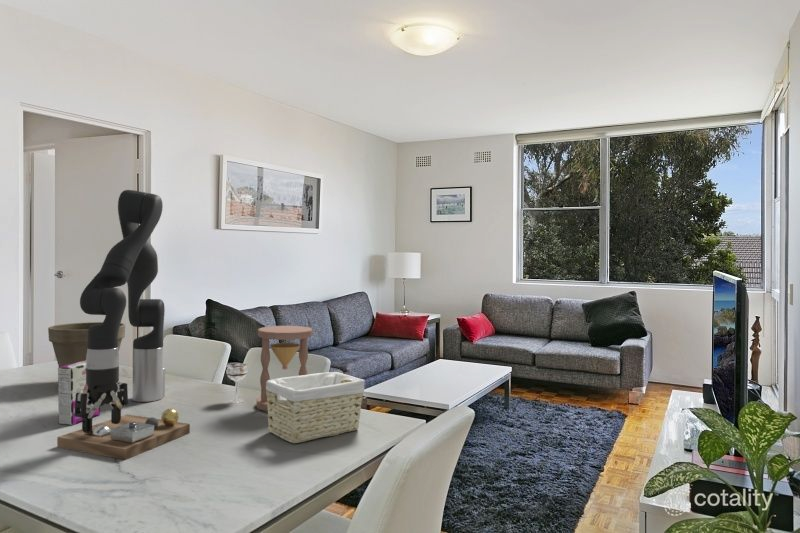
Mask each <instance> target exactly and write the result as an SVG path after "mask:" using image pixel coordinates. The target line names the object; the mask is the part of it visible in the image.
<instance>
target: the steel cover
mask: <svg viewBox="0 0 800 533" xmlns="http://www.w3.org/2000/svg"><path fill="white" fill-rule="evenodd" d="M151 435H154V425H151V424H144V423H138V422H131V423H128V424H125V425H122V426H119V427H116V428H113V429H111V438H110V439H114V440H119V441H125V442H131V443H133V442H136V441H138V440H141V439H144V438H146V437H149V436H151Z"/></svg>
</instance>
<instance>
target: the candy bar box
mask: <svg viewBox="0 0 800 533" xmlns="http://www.w3.org/2000/svg"><path fill="white" fill-rule="evenodd" d="M57 381H58V382H57V383H58V384H57V388H58V390H57V391H58V400H57V402H58V424H59V425H62V424H65V425H66V426H75V425H76V424H77V425H78V424H79V423H82V418H80V417H75V416H74V413H75V397H76V393H85V392H87V390H88V386H87V384H86V360H85V361H81V362H77V363H73V364H69V365H66V366H62V367H59V366H58V368H57ZM91 405H92V406H93V404H92V403H91ZM89 411H90V410H89ZM89 411H88V412H89ZM80 412H81V408H80ZM100 415H101V406H99V408H98V409H97V410H96V411H95V412H94V414H93V416H92V417H91V418H92V419H93V418H95V417H98V416H100ZM65 425H64V426H65Z"/></svg>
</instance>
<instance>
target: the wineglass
mask: <svg viewBox="0 0 800 533" xmlns="http://www.w3.org/2000/svg"><path fill="white" fill-rule="evenodd" d="M226 367H227V368H226V375H227V378H229V379H230V380H232V381H234V383H235V398H234V399H230V400H228V403H230V404H240V403H243V402H245V400H244V399H241V398H238V392H239V391H238V389H239V387H238V386H239V383H240V381H242V380H243V379H245V377H246V376H247V375H248V368H247V367H248V364H247V363H241V362H237V363H235V362H234V363H229V364H226Z"/></svg>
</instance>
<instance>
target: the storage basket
mask: <svg viewBox="0 0 800 533" xmlns="http://www.w3.org/2000/svg"><path fill="white" fill-rule="evenodd" d="M365 384H366V383H365V379H364V378H363V379H362V378H358V377H357V376H356V377H355V376H352V375H349V374H347V373H346V374H345V373H341V372H338V371H332V372H329V371H328V372H317V373H311V374H309V373H308V375H301V376H299V375H293V376H287V377H286V376H283V377H280V378H279V377H278V378H273V379H270V380H268V381H267V382H266V390H267V391H266V395H267V405H268V406H267V407H268V412H267V418H268V419H267V423H268V424H267V425H268V431H269V433H271V434H273V435H275V436H276V437H279V438H281V439H282V440H285V441H286V442H289V443H290V444H299V443H304V442H308V441H312V440H313V441H314V440H318V439H320V438H325V437H326V438H327V437H333V436H337V435H340V434H343V433H349V432H354V431H357V430H359V425H360V424H359V423H360V417H361V409H362V402H363V396H364V392H365Z"/></svg>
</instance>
